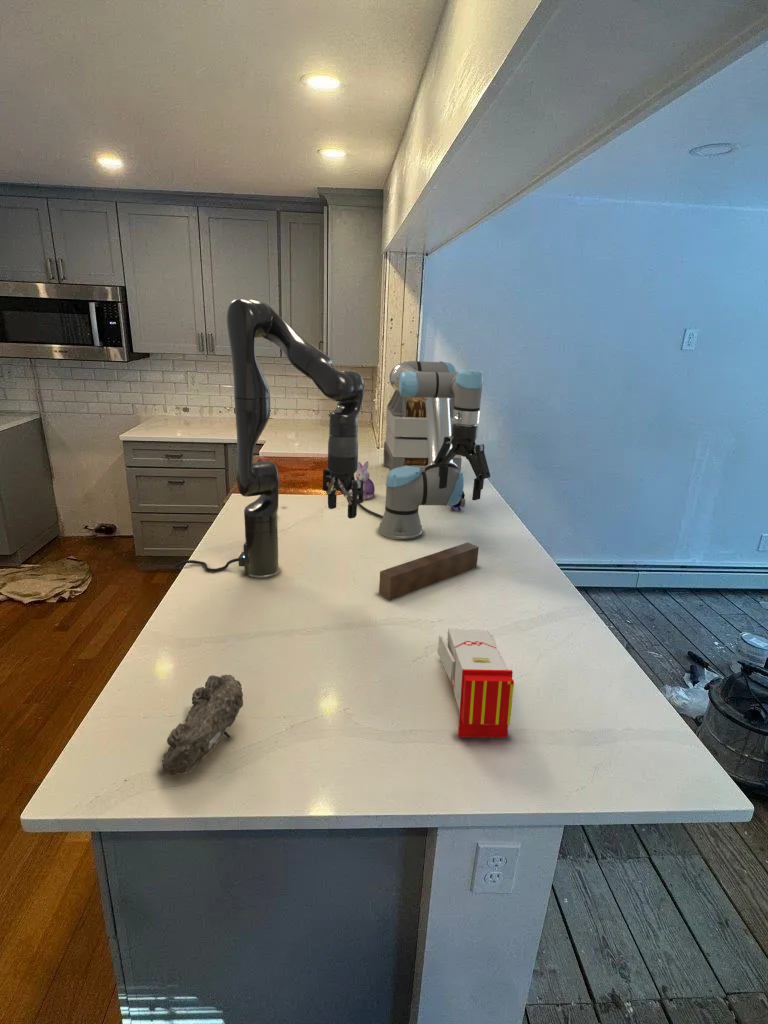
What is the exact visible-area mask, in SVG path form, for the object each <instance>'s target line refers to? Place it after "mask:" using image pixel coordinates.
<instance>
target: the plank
mask: <svg viewBox="0 0 768 1024" xmlns="http://www.w3.org/2000/svg"><path fill="white" fill-rule="evenodd" d="M479 549H480V547H479V546H478V545H476V544H474V543H471V542H468V541H467V542H465V543H460V544H458V545H455V546H452V547H449V548H446V549H443V550H440V551H437V552H434V553H431V554H427V555H425V556H421V557H418V558H415V559H413V560H410V561H406V562H403V563H400V564H398V565H394V566H392V567H389V568H386V569H382V570H379V571H380V572H379V584H378V585H379V587H378V588H379V589H378V594H379V596H382V597H383V598H385V599H387V600H388V601H392V600H394V599H397V598H400V597H402V596H405V595H408V594H410V593H413V592H415V591H418V590H421V589H423V588H426V587H430V586H432V585H434V584H437V583H439V582H442V581H445V580H447V579H450V578H453V577H455V576H458V575H461V574H463V573H466V572H469V571H471V570H474V569H476V568H477V567H478V558H479V551H480V550H479Z"/></svg>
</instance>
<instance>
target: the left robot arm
mask: <svg viewBox="0 0 768 1024" xmlns="http://www.w3.org/2000/svg"><path fill="white" fill-rule="evenodd" d="M226 326H227V335H228V340H229V346H230V347H229V348H230V353H231V363H232V376H233V399H234V400H233V401H234V413H235V426H236V469H235V473H236V474H235V476H236V477H235V478H236V486H237V489H238V492H239V494H240V495H241V496H242V497H244V498H245V497H246V498H250V497H256V496H259V497H258V498H257V499H255V500H254V501H252V502H250V503H249V504H247V505H246V506H245V507H244V510H243V516H244V518H243V519H244V520H243V521H244V540H245V542H244V543H243V551H241V553H240V555H239V556H238V557H236V558H233V559H230V560H227V562H226V564H225V565H224V566H221V567H218V568H210V567H208V564H207V562H205V561H200V560H196V559H195V560H194V559H189V560H188V559H187V560H182V561H180V562H179V563H176V564H175V566H174V568H176V569H177V568H179V567H180V566H183V565H185V564H196V565H202V566H204V570H205V571H207V572H213V573H214V572H215V573H216V572H221V571H225V570H226V569H227V568H228V567H229V566H230V565H231V564H233V563H236V562H238V567H244V568H243V569H244V576H249V577H251V578H255V579H266V578H272V577H274V576H276V575H277V574H279V572H280V565H279V564H280V563H279V532H278V531H279V528H278V511H279V495H280V474H279V469H278V467H277V465H276V464H275V463H274V461H272V460H264V461H263V460H262V461H255V462H253V459H254V451H255V448H256V445H257V443H258V441H259V439H260V437H261V435H262V433H263V432H264V430H265V428H266V426H267V424H268V422H269V421H270V417H271V393H270V387H269V385H268V382H267V380H266V378H265V376H264V374H263V372H262V370H261V368H260V365H259V363H258V361H257V360H258V359H257V358H256V357H257V355H256V346H255V345H256V343H255V339H259V338H263V339H264V340H267V341H270V342H271V343H273V344H275V345H276V346H277V347H278V348H280V350H281V351H282V352H283V354H284V355H285V358H286V359H287V360H288V362H289V363H290V365H292V366H293V367H294V368H295V369H297V370H298V371H299V372H300V373H301V374H303V375H304V376H306V377H307V378H308V379H310V380H311V381H312V382H313V383H314V385H315V386H316V387H317V389H318V390H319V391H320V392H321V393H322V394H323V395H324V396H325V397H326V398H328V399H330V400H331V401H333V402H337V404H336V405H337V406H336V407H335V409H333V411H331V412H330V414H329V418H328V419H329V421H328V423H329V424H328V425H329V426H328V427H329V428H328V429H329V430H328V441H327V468H325V469H322V491H323V492H326V493H325V494H326V495H327V508H328V509H329V510H334V509H336V508H337V492H340V493H342V495H343V497H344V498H346V501H347V503H348V504H347V519H350V520H351V519H355V518H356V517H357V515H358V514H357V513H358V504H363V503H364V500H363V481H362V480H357V479H356V476H355V473H357V472H358V462H359V439H358V437H359V436H358V432H359V431H358V426H359V420H358V419H359V415H360V412H361V407H362V403H363V400H364V395H365V383H364V380H363V379H364V378H363V377H362V375H361V374H360V373H359V372H358V371H356V370H353V369H346V370H337V369H336V368H335V367H334V363H333V360H332V358H331V357H330V356H328V355H327V354H326V353H324V352H323V351H322V350H320V349H319V348H318V347H317V346H315V345H313V344H312V343H311V342H309V341H308V340H307V339H305V338H304V337H302V336H301V335H300V334H299V333H298V332H297V331H295V330H294V328H292V327H291V326H290V325H289V324H288V322H287V321H285V320H284V319H283V318H282V317H281V315H279V314H278V312H276V311H275V309H273V307H272V306H270V304H268V303H266V301H264V300H260V299H253V298H252V299H250V298H236V299H233V300H232V301H231V302H230V304H229V305H228V308H227V312H226ZM357 495H359V499H358V498H357ZM350 496H352V497H353V499H352V498H351V497H350Z"/></svg>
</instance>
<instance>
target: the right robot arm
mask: <svg viewBox="0 0 768 1024" xmlns="http://www.w3.org/2000/svg"><path fill="white" fill-rule="evenodd" d="M388 378H389V383H390V386H391V387H392V388H393V390H394V391H395V390H397V391H399V392H400V395H401V396H403V397H410V398H413V397H421V400H422V401H423V402H425V403H426V422H427V442H428V462H429V463H428V465H427V466H424V471H422V469H421V467H420V466H407V465H404V466H403V467H398V468H394V469H392V470H391V471H390V470H388V473H387V475H386V480H385V481H386V482H385V487H386V488H385V504H384V505H385V507H384V508H385V509H384V513H383V515H382V514H379V513H377V512H375V511H372V510H370V509H368V508H366V507H365V506H364V505H362V503H360V504H357V506H359V507H360V509H362V510H363V511H365V512H366V513H368V514H371V515H373V516H375V517H378V518H381V522H379V527H378V533H379V534H380V535H381V536H382V537H385V538H387V539H389V540H395V541H410V540H415V539H418V538H420V537H421V536H422V535H423V525H422V524H421V518H420V515H419V507H420V506H444V507H446V506H447V507H448V506H449V505H456V504H458V503H459V501H460V499H461V496H462V492H463V491H464V486H465V485H464V484H465V475H464V473H463V472H462V471H461V472H458V467H457V465H456V464H454V463H453V458H454V457H455V455H461V457H463V458H464V457H465V459H466V460H467V461H468V463H469V465H470V467H471V469H472V471H473V473H474V475H475V477H476V478H474V479H473V488H472V495H471V496H472V498H471V499H472V501H474V502H475V501H479V500H481V494H482V490H483V489H484V483H485V479H489V478H490V477H491V473H490V468H489V465H488V462H487V461H488V460H487V457H486V454H485V453H486V452H485V444H484V443H481V444H477V443H476V440H477V438H478V433H479V426H478V425H479V423H480V414H481V403H482V393H483V386H484V372H483V371H482V370H480V369H474V368H460V369H458V370H456V367H455V366H454V365H453V363H451V362H445V361H424V360H423V361H418V360H409V361H404V362H401V363H399V364H396V365H395V366H394V367H393V368H392V369H391V371H390V373H389V376H388ZM452 398H455V400H454V413H453V422H454V424H453V425H452V436H451V424H450V407H449V401H450V400H451V399H452ZM452 437H453V438H452ZM452 446H453V447H452ZM350 497H351V500H353V497H352V496H350Z"/></svg>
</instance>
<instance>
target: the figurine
mask: <svg viewBox="0 0 768 1024" xmlns="http://www.w3.org/2000/svg"><path fill="white" fill-rule="evenodd" d="M368 468H369V460H367V461H365V463H364V464H363V465H362V462H360V461H358V469H357V471H356V474H355V479H356V480H362V481H363V501H364V500H370V499H372V498H374V496H375V491H376V488H375V484H374V482H373V481H372V479H370V473H369V471H368ZM357 498H358V499H359V495H357Z"/></svg>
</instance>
